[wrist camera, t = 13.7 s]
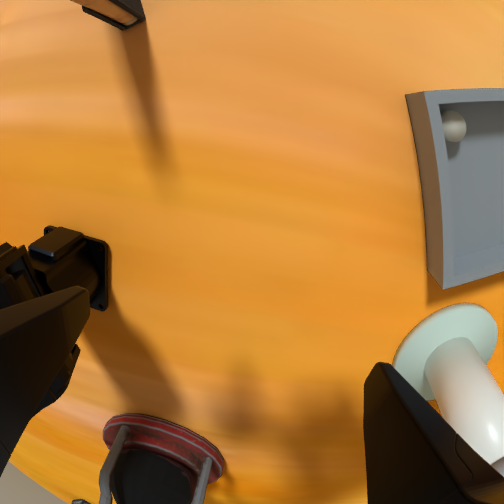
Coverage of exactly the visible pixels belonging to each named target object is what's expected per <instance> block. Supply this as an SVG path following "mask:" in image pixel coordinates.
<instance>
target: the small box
mask: <svg viewBox="0 0 504 504" xmlns="http://www.w3.org/2000/svg"><path fill="white" fill-rule="evenodd" d="M72 504H90V503H88V502H87V501H85V500H83V499H78V500H73V501H72Z"/></svg>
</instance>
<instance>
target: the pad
mask: <svg viewBox="0 0 504 504" xmlns="http://www.w3.org/2000/svg"><path fill="white" fill-rule="evenodd" d="M456 337H465V338H468V339H469V340H470V341H471V342H472V344H473V345H474V347H475V348H476V350H477V351H478V353H479V354H480V356H481V358H482V359H483V361H484V362H485V364H487V363H488V361H489V360H490V358H491V356H492V354H493V352H494V349H495V347H496V343H497V337H498V330H497V325H496V322H495V320H494V319H493V317H492V316H491V315H490V314H489V312H488V311H487V310H486V309H485V308H483V307H482V306H480V305H477V304H474V303H458V304H454V305H450V306H447V307H445V308H442V309H440V310H438V311H436V312H434V313H433V314H431V315H429V316H428V317H426V318H425V319H424V320H422V321H421V322H420V323H419V324H418V325H416V326H415V327H414V328H413V329H412V330H411V331H410V332H409V333H408V335H407V336H406V337H405V338H404V340H403V341H402V343H401V344H400V346H399V347H398V349H397V351H396V354H395V356H394V359H393V364H392V366H393V367H394V368H395V369H396V370H397V371H398V372H399V373H400V374H401V375H402V376H403V377H404V379H405V380H406V381H407V382H408V383H409V384H410V385H411V386H412V387H413V388H414V389H415V390H416V391H417V392H418V393H419V394H420V395H421V396H422V397H423V398H424V399H425V400H426V401H429V400H435V397H434V394H433V392H432V389H431V387H430V385H429V382H428V380H427V378H426V375H425V372H424V366H425V363H426V360H427V359H428V357H429V356H430V354H431V353H432V352H433V351H434V350H435V349H436V348H437V347H438V346H439V345H441V344H442V343H444V342H446V341H448V340H450V339H453V338H456Z"/></svg>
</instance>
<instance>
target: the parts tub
mask: <svg viewBox="0 0 504 504" xmlns="http://www.w3.org/2000/svg"><path fill="white" fill-rule="evenodd" d="M405 97H406V101H407V105H408V110H409V114H410V119H411V124H412V129H413V134H414V140H415V145H416V151H417V158H418V164H419V171H420V179H421V187H422V196H423V206H424V217H425V231H426V250H427V271H428V272H429V273H430V274H431V275H432V277H433V278H434V279H435V280H436V282H437V283H438V284H439V285H440V287H441V288H442V289H443V290H444V289H447V288H451V287H454V286H458V285H461V284H464V283H468V282H471V281H474V280H478V279H481V278H484V277H487V276H490V275H493V274H496V273H500V272H503V271H504V88H479V89H451V90H435V91H423V92H417V93H412V94H406V95H405Z"/></svg>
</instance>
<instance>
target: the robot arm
mask: <svg viewBox="0 0 504 504" xmlns="http://www.w3.org/2000/svg"><path fill="white" fill-rule="evenodd" d="M100 246H102V248H103V249H101V248H100ZM28 250H29V251H27V250H26V247H25V245H22V246H20V247H18V248H16V246H15V247H14V246H13V247H12V246H11V245H10V244H8V243H7V242H6V243H4V244H2V245H0V477H1V474H2V472H3V470H4V468H5V466H6V464H7V462H8V460H9V458H10V456H11V454H12V452H13V450H14V448H15V446H16V444H17V442H18V441H19V439H20V437H21V435H22V433H23V431H24V430H25V428H26V426H27V424H28V422H29V421H30V419H31V418H32V417H33V416H34V415H36V414H37V413H38V412H40V411H41V410H42V409H43V408H45V407H47V406H49V405H50V404H52V403H54V402H55V401H56V400H57V399H58V398H59V397H60V396H61V395H62V394H63V393H64V392H65V390H66V389H67V387H68V384H69V381H70V379H71V376H72V373H73V370H74V367H75V364H76V362H77V359H78V356H79V354H80V351H81V350H80V349H79V347H78V345H77V344H75V343H76V341H77V339H78V337H79V335H80V333H81V331H82V329H83V328H84V326H85V324H86V322H87V320H88V318H89V315H90V307H91V308H94V309H97V310H100V311H105V310H106V309H107V308H108V282H107V262H108V246H107V244H106V242H105V241H103V240H99V239H96V238H92V237H89V236H85V235H84V234H83V233H81V232H77V231H74V230H70V229H67V228H63V227H58V228H57V227H54V226H47V227H45V228H44V236H43V237H41V238H40V239H38V240H36V241H35V242H33V243H31V244H30V245H29V246H28ZM101 304H102V305H103V306H102V305H101ZM363 429H364V442H365V456H366V472H367V495H368V504H504V477H503V476H502V475H501V474H500V473H499V472H498V471H497V470H496V469H494V468H493V467H492V466H491V465H490V464H489V463H488V462H487V461H485V460H484V459H483V458H482V457H481V456H480V455H479V454H478V453H477V452H476V451H475V450H473V449H472V448H471V447H470V446H469V445H468V443H467V442H466V441H465V440H464V439H463V438H462V437H461V436H460V435H459V434H458V433H456V431H455V430H454V429H453V428H452V427H451V426H450V425H449V424H448V423H447V422H446V421H445V420H444V419H443V418H442V416H441V415H440V414H439V413H438V412H437V411H436V410H435V409H434V408H433V407H432V406H431V405H430V404H429V403H428V402H427V401H426V400H425V399H424V398H423V397H422V396H421V395H420V394H419V393H418V392H417V391H416V390H415V389H414V388H413V387H412V386H411V385H410V384H409V383H408V382H407V381H406V380H405V379H404V377H403V376H402V375H401V374H400V373H399V372H398V371H397V370H396V369H395V368H394V367H393V366H392V365H391V364H389V363H384V362H378V363H376V364H375V366H374V367H373V369H372V370H371V372H370V374H369V375H368V377H367V379H366V380H365V383H364V418H363Z"/></svg>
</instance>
